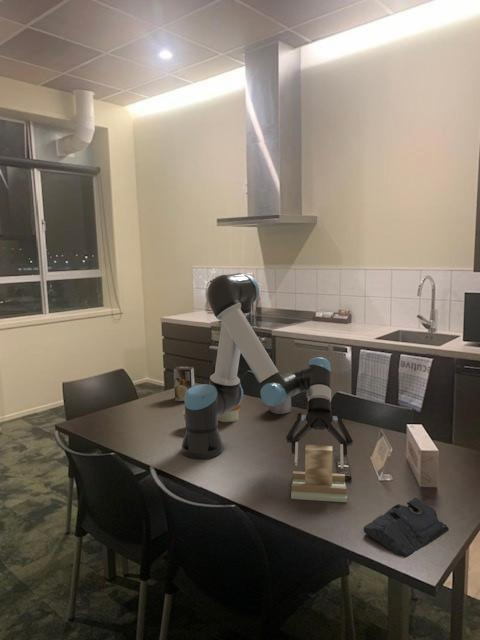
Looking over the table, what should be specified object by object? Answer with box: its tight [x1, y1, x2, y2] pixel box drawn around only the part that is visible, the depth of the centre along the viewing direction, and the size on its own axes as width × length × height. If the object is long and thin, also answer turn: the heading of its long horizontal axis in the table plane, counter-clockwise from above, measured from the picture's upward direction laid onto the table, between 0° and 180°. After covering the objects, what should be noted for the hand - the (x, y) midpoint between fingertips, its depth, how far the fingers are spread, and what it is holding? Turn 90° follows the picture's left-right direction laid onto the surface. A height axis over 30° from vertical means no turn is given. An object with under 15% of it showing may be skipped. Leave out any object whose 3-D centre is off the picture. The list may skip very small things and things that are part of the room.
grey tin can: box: [269, 397, 292, 415], centre depth 221 cm, size 10×10×15 cm
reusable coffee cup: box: [218, 383, 242, 423], centre depth 211 cm, size 13×12×15 cm
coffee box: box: [173, 365, 196, 402], centre depth 240 cm, size 9×6×16 cm
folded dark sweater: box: [363, 497, 450, 558], centre depth 126 cm, size 15×22×5 cm
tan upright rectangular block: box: [304, 444, 334, 485], centre depth 148 cm, size 8×4×12 cm, turn 81°
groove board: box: [290, 470, 348, 503], centre depth 148 cm, size 16×14×3 cm
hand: (318, 465), depth 146 cm, fingers open, 13 cm apart
